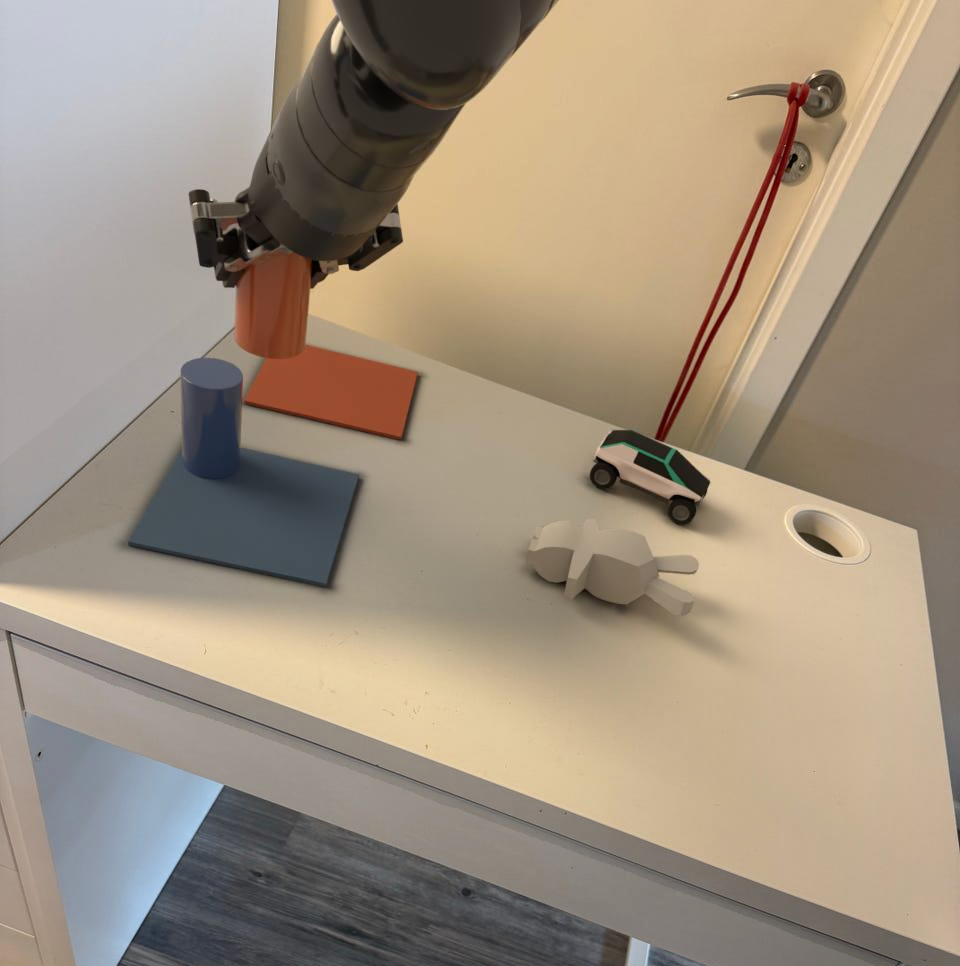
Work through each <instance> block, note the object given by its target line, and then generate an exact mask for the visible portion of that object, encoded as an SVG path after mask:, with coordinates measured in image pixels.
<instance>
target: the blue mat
mask: <svg viewBox="0 0 960 966" xmlns="http://www.w3.org/2000/svg"><path fill="white" fill-rule="evenodd" d="M359 478H360V474H359V473H354V472H351V471H345V470H343V469H338V468H333V467H329V466H323V465H319V464H315V463H310V462H306V461H302V460H298V459H293V458H289V457H284V456H280V455H275V454H271V453H267V452H261V451H259V450H254V449H248V448H246V447H245V448H243V447H241V451H240V467H239V469H238V470H237V472H236V473H234V474H233V475H231V476H228V477H225V478H219V479H209V478H203V477H199V476H196V475H194V474H192V473H191V472H189V471H188V470H187V469H186V468H185V467H184V465H183V462H182V448H181V449H180V451H179V453H178V454H177V456H176V458H175V459H174V461H173V463H172V464H171V466H170V468H169V470H168V472H167V473H166V475H165V476H164V479H163V480H162V482H161V484H160V486H159V487H158V488H157V490H156V492H155V494H154V496H153V497H152V499H151V501H150V503H149V504H148V505H147V508H146V510H145V511H144V513H143V515H142V517H141V518H140V519H139V521H138V523H137V525H136V527H135V529H134V530H133V532H132V534H131V535H130V537H129V538H128V540H127V545H128V546H131V547H136V548H141V549H145V550H151V551H154V552H160V553H164V554H169V555H173V556H178V557H183V558H187V559H192V560H197V561H203V562H206V563H211V564H216V565H221V566H225V567H230V568H234V569H239V570H244V571H248V572H254V573H259V574H262V575H268V576H272V577H277V578H282V579H286V580H292V581H296V582H300V583H306V584H310V585H314V586H319V587H325V588H326V587H327V586H328V582H329V578H330V575H331V572H332V568H333V565H334V561H335V558H336V555H337V551H338V548H339V546H340V542H341V538H342V535H343V532H344V528H345V525H346V521H347V519H348V515H349V513H350V508H351V506H352V501H353V498H354V494H355V492H356V488H357V485H358V482H359Z"/></svg>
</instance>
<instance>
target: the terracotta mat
mask: <svg viewBox="0 0 960 966" xmlns="http://www.w3.org/2000/svg"><path fill="white" fill-rule="evenodd" d="M418 374H419V371H417V370H413V369H408V368H404V367H400V366H397V365H392V364H387V363H383V362H379V361H375V360H371V359H366V358H363V357H358V356H354V355H350V354H346V353H342V352H338V351H334V350H330V349H326V348H322V347H317V346H314V345H313V346H312V345H310V344H305V349H304V351H303V352H302V353H301V354H300V355H298V356H295V357H292V358H287V359H269V358H265V360H264V362H263V364H262V366H261V368H260V369H259V371H258V374H257V375H256V377H255V378H254V381H253V383H252V385H251V386H250V388H249V390H248V393H247V394H246V396H245V398H244V399H243V404H244V405H248V406H252V407H258V408H262V409H266V410H270V411H275V412H278V413H282V414H288V415H292V416H296V417H300V418H304V419H309V420H314V421H317V422H321V423H325V424H330V425H335V426H339V427H342V428H347V429H352V430H356V431H361V432H365V433H369V434H373V435H377V436H382V437H386V438H390V439H395V440H399V441H401V440H402V438H403V434H404V431H405V426H406V422H407V417H408V414H409V410H410V408H411V407H410V406H411V403H412V398H413V394H414V392H415V391H414V390H415V386H416V382H417V378H418Z"/></svg>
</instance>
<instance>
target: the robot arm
mask: <svg viewBox="0 0 960 966" xmlns="http://www.w3.org/2000/svg"><path fill="white" fill-rule="evenodd" d="M331 2H332V5H333V7H334V10H335V13H336V14H335V16H333V18H332V19H331V20H330V22H329V24H328V25H327V26H326V28H325V30H324V31H323V33H322V35H321V37H320V39H319V41H318V42H317V44H316V46H315V48H314V51H313V53H312V54H311V57H310V59H309V61H308V63H307V65H306V67H305V69H304V70H303V71H304V72H303V74H302V76H301V77H300V78H299V80H298V81H297V82H296V83H295V84H294V86H293V87H292V88H291V89H290V91H289V93H288V95H287V96H286V98H285V99H284V101H283V104H282V105H281V108H280V110H279V112H278V114H277V116H276V118H275V121H274V123H273V125H272V127H271V129H270V132H269V133H268V136H267V138H266V140H265V142H264V144H263V146H262V148H261V151H260V153H259V155H258V157H257V158H256V162H255V164H254V167H253V171H252V175H251V180H250V184H249V186H248V187H246V188H245V189H244V190H242V191H240V192H239V193H237V195H236V196H235V199H234V201H223V202H219V201H218V200H217V199H216V198H211V196H210V192H209V190H205V189H201V188H196V189H192V190H190V191H189V192H188V200H189V208H190V213H191V214H190V215H191V221H192V222H191V223H192V228H193V234H194V239H195V245H196V252H197V259H198V264H199V265H198V266H200V267H202V268H208V269H211V268H213V271H214V276H215V277H214V278H215V280H216V281H217V282H222V287H223V288H224V289H234V288H235V289H236V284H237V282H238V280H239V279H240V277H241V276H242V274H243V272H244V268H245V267H247V266H249V265H250V264H251V265H256V266H263V265H265V264H266V263H268V262H270V261H272V260H273V259H275V258H277V257H278V256H280V255H285V256H287V255H289V254H291V253H293V252H294V253H296V254H298V255H300V256H303V257H305V258H308V259H312V260H313V264H312V275H311V287H310V290H313V289H314V288H315V287H316V286H317V285H318V283H321V282H324V281H325V280H326V279H327V277H328V275H333V274H336V273H338V272H339V271H340V266H345V265H346V266H347V265H348V270H349V271H352V272H360V271H363V270H365V269H366V268H367V267H369V266H371V265H372V264H373V263H375V262H376V261H378V260H380V259H381V258H383V256H385V255H387V254H388V253H389V252H391V251H392V250H394V249H395V248H397V247H398V246H400V245H401V244H403V242H404V238H403V237H404V236H403V230H402V223H401V218H400V209H399V204H398V203H400V201H401V199H402V198H403V197H404V195H405V194H406V192H407V191H408V190H409V187H410V186H411V184H412V181H413V179H414V177H415V176H416V175H417V173H418V172H419V171H420V170H421V168H422V167H423V166H424V164H426V162H427V161H428V159H429V158H430V157H431V156H432V155H433V153H434V152H435V151H436V149H438V148H439V146H440V144H442V141H443V140H444V139H445V138H446V136H447V134H448V132H449V130H450V129H451V127H452V125H453V124H454V122H455V121H456V120H457V118H458V116H459V114H460V113H461V112H462V110H464V108H465V106H466V104H467V103H468V102H470V101H471V100H473V99H474V98H475V97H477V96H478V95H479V94H480V93H482V91H484V90H485V89H486V88H487V86H488V85H489V84H490V83H491V82H492V81H493V80H494V78H496V76H497V75H498V74H499V73H500V72H501V70H502V69H503V68H504V67H505V65H507V63H508V62H509V60H510V59H511V58H512V57H513V56H514V55H515V53H516V52H517V51H518V50H519V49H520V47H521V46H522V45H523V44H524V43H525V42H526V40H528V39H529V37H530V36H531V35H532V34H533V33H534V31H535V30H536V29H537V28H538V27H539V25H540V24H541V23H542V22H543V21H544V20H545V19H546V17H547V16H548V15H549V14H550V13H551V11H552V10H553V9H554V8H555V7H556V5H557V4H558V3H559V2H560V0H331Z"/></svg>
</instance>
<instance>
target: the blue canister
mask: <svg viewBox="0 0 960 966" xmlns="http://www.w3.org/2000/svg"><path fill="white" fill-rule="evenodd" d="M243 388H244V374H243V372H242V370H241V369H240V368H239V367H238V366H237V365H235V364H234V363H232V362H231V361H228V360H224V359H220V358H216V357H198V358H197V357H196V358H192V359H189V360H187V361H186V362H185V363H183V364H182V365H181V367H180V412H181V413H180V415H181V416H180V417H181V419H180V420H181V449H182V462H183V465H184V467H185V468H186V469H187V470H188V471H189V472H191V473H192V474H194V475H196V476H199V477H203V478H209V479H219V478H225V477H228V476H231V475H233V474H234V473H236V472H237V470H238V469H239V467H240V451H241V448H242V446H241V445H242V418H243V417H242V416H243V391H244V389H243Z"/></svg>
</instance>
